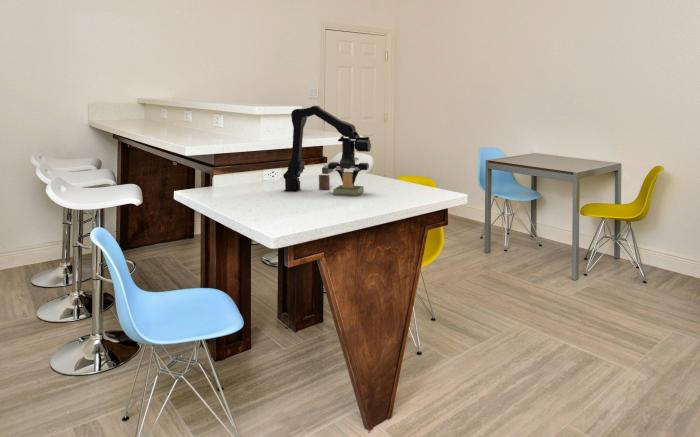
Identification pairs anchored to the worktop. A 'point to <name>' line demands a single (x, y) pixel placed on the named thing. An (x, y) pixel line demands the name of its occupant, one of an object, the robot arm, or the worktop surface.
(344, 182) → the orange brown block
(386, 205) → the worktop surface
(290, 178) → the robot arm
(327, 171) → the dark gray block
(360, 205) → the worktop surface
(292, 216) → the worktop surface
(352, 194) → the tray
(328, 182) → the wood grain block
